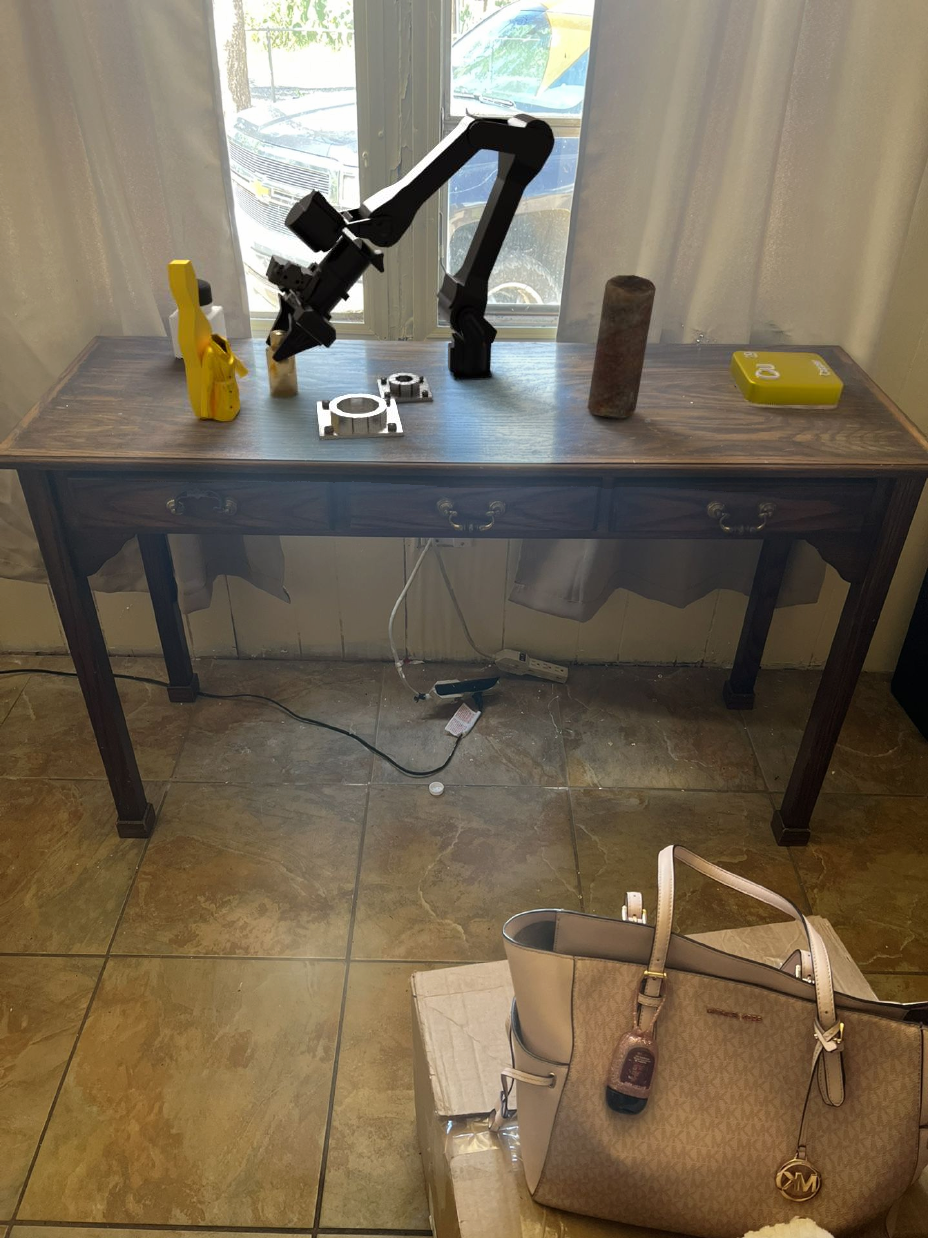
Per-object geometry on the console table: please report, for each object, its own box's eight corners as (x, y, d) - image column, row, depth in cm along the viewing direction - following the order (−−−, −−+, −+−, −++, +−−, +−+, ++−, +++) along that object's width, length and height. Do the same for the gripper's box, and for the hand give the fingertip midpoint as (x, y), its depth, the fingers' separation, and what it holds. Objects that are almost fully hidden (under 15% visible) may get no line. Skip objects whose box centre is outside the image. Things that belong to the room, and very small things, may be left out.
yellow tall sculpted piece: (221, 440, 127) (196, 283, 114) (168, 436, 128) (138, 278, 114) (261, 392, 141) (244, 247, 128) (214, 388, 142) (192, 243, 129)
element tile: (840, 412, 141) (848, 384, 138) (746, 410, 141) (752, 381, 138) (812, 376, 153) (819, 349, 150) (725, 374, 153) (731, 346, 150)
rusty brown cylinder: (640, 408, 139) (660, 277, 127) (631, 427, 134) (651, 292, 122) (592, 401, 141) (607, 271, 129) (582, 419, 136) (597, 285, 124)
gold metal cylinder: (298, 386, 143) (292, 327, 138) (298, 397, 140) (293, 337, 134) (270, 387, 143) (263, 328, 137) (270, 398, 139) (263, 338, 133)
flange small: (425, 381, 146) (425, 368, 145) (432, 400, 140) (432, 387, 139) (377, 383, 145) (376, 370, 144) (381, 402, 139) (381, 389, 137)
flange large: (394, 402, 139) (394, 387, 138) (402, 435, 130) (402, 420, 128) (317, 405, 137) (316, 391, 136) (320, 439, 128) (318, 424, 126)
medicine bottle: (228, 346, 157) (218, 276, 150) (215, 361, 151) (204, 289, 144) (189, 344, 157) (177, 274, 150) (174, 358, 152) (162, 286, 144)
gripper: (285, 220, 135) (221, 299, 139) (307, 252, 121) (236, 339, 125) (339, 270, 142) (277, 344, 146) (366, 306, 128) (296, 387, 132)
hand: (271, 352), depth 137 cm, fingers open, 6 cm apart
